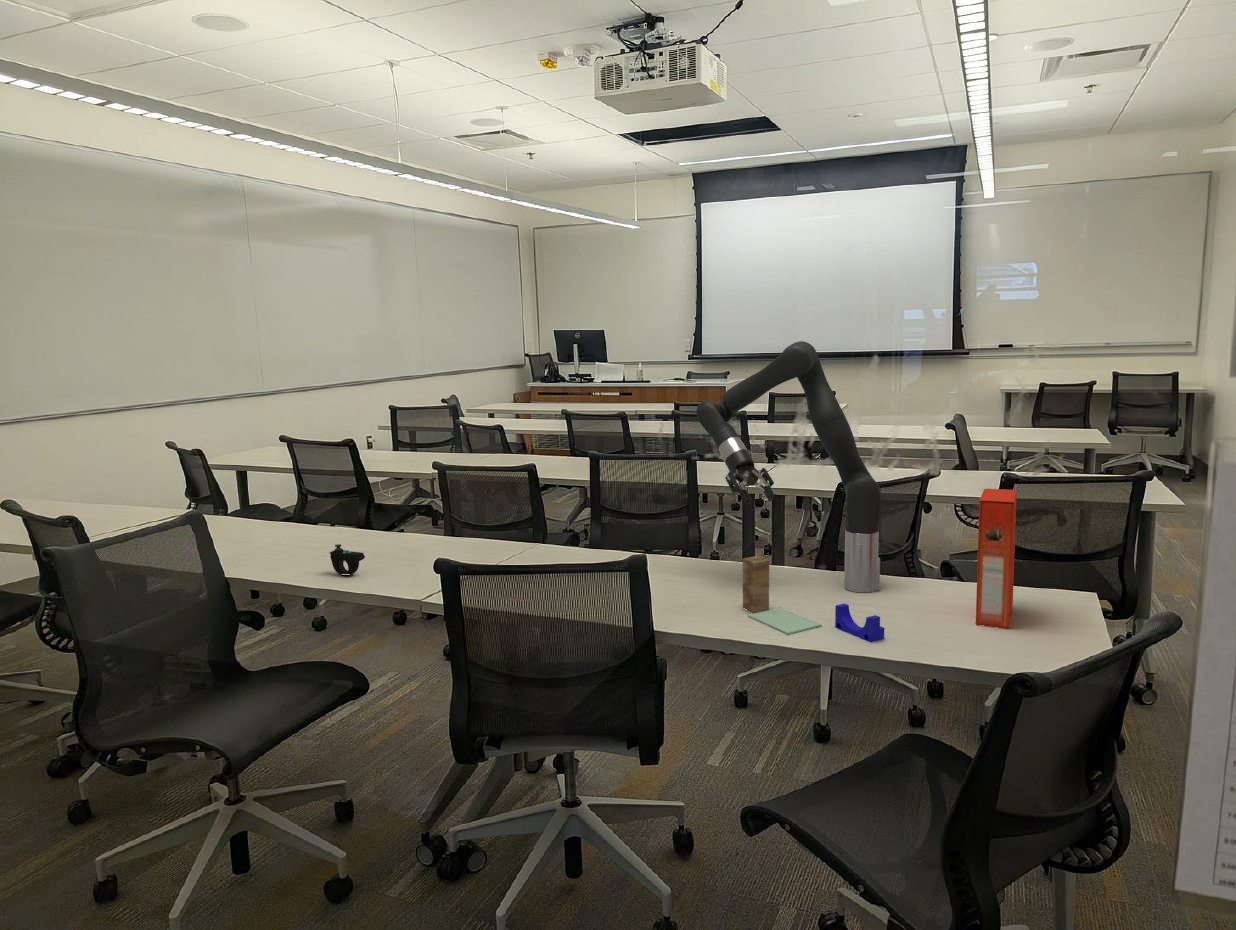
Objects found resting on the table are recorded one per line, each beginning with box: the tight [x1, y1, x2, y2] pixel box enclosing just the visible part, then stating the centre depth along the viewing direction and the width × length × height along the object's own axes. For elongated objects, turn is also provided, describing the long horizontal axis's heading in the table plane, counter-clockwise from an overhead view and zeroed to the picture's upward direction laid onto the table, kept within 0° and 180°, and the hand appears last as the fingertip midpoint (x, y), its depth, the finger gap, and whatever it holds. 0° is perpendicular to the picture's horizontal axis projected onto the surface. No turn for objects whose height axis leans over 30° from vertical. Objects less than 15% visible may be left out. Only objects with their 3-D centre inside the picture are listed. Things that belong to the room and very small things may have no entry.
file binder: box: [975, 488, 1018, 630], centre depth 205 cm, size 8×17×32 cm, turn 152°
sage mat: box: [747, 607, 823, 636], centre depth 208 cm, size 16×11×1 cm
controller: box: [329, 543, 366, 575], centre depth 261 cm, size 4×12×10 cm, turn 67°
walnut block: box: [742, 555, 770, 614], centre depth 217 cm, size 5×5×14 cm
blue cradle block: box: [834, 603, 885, 643], centre depth 198 cm, size 12×4×6 cm, turn 28°
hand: (761, 501), depth 228 cm, fingers open, 8 cm apart
